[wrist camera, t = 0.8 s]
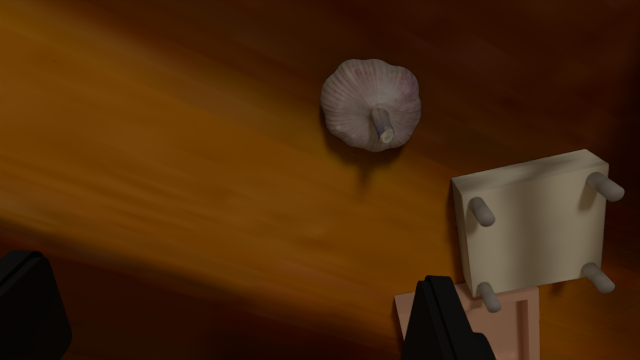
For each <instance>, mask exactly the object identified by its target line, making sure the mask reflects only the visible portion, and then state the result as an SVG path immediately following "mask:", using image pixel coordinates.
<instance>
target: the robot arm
mask: <svg viewBox="0 0 640 360" xmlns="http://www.w3.org/2000/svg"><path fill="white" fill-rule="evenodd" d="M71 340H72V331H71V328H70V325H69V321H68V318H67V315H66V312H65V309H64V306H63V303H62V300H61V296H60V293H59V290H58V287H57V284H56V281H55V278H54V274H53V271H52V268H51V265H50V262H49V260H48V259H47V258H44V256H43V254H42V253H41V252H38V251H27V250H12V251H10V252H8V253H7V254H5V255H4V256H3V257H2V258H1V259H0V360H60V359H61V357H62V356H63V355H64V353H65V352H66V350H67V349H68V347H69V346H70V343H71ZM401 360H497V359H496V357H495V355H494V353H493V350H492V348H491V346H490V343H489V341H488V340H487V338H486V336H485V335H484V334H483V333H479V332H473V331H472V328H471V326H470V323H469V321H468V318H467V316H466V313H465V311H464V308H463V306H462V303H461V301H460V298H459V296H458V293H457V291H456V288H455V286H454V283H453V281H452V279H451V278H450V277H448V276H432V275H427V276H426V277H425V280H424V281H418V283H417V287H416V291H415V296H414V300H413V304H412V309H411V313H410V318H409V322H408V326H407V331H406V335H405V340H404V344H403V348H402V353H401Z"/></svg>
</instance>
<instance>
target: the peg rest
mask: <svg viewBox="0 0 640 360" xmlns="http://www.w3.org/2000/svg"><path fill="white" fill-rule="evenodd" d="M608 169H609V164H608V163H606V162H605V161H603V160H601V159H600V158H598V157H597V156H595V155H594V154H592V153H591V152H589V151H588V150H586V149H584V150H579V151H575V152H570V153H565V154H561V155H556V156H552V157H547V158H542V159H538V160H533V161H529V162H524V163H519V164H515V165H510V166H506V167H501V168H496V169H492V170H487V171H483V172H478V173H473V174H469V175H464V176H460V177H455V178H451V180H452V189H453V197H454V205H455V213H456V221H457V229H458V238H459V246H460V254H461V262H462V270H463V276H464V278H465V280H466V283H467V285H468V287H469V289H470V291H471V293H472V295H473V297H477V296H481V298H482V300H483V302H484V304H485V306H486V308H487V310H488V312H490V313H496V312H498V311H500V310H501V307H502V306H501V304H500V302H499V300H498V298H497V296H496V294H495V293H500V292H505V291H511V290H516V289H522V288H528V287H533V286H539V285H544V284H550V283H555V282H561V281H567V280H572V279H578V278H583V277H588V279H589V280H590V281H591V282H592V283H593V284H594V285H595V287H596V288H597V289H598V290H599V291H600V292H601V293H604V294H605V293H609V292H611V291H613V290H614V288H615V285H614V283H613V282H612V281H611V280H610V279H609V278H608V277H607V276H606V275H605V274H604V273H603V272H602V271H601V259H602V246H603V233H604V221H605V208H606V199H607V200H609V201H611V202H615V201H618V200H620V199H621V198H622V197H623V195H624V189H623V188H621V187H620V186H619V185H617V184H616V183H614V182H613V181H612V180H610V179H609V178H608Z"/></svg>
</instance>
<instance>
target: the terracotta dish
mask: <svg viewBox="0 0 640 360" xmlns="http://www.w3.org/2000/svg"><path fill="white" fill-rule="evenodd" d="M454 286H455V288H456V291H457V293H458V296H459V298H460V301H461V303H462V306H463V308H464V311H465V313H466V316H467V318H468V321H469V323H470V326H471V328H472V331H473V332H479V333H483V334H484V335H485V336H486V338H487V340H488V341H489V343H490V346H491V348H492V350H493V353H494V355H495V357H496V359H497V360H540V348H539V289H538V288H537V286H533V287H528V288H522V289H516V290H511V291H505V292H500V293H495V294H496V296H497V298H498V300H499V302H500V304H501V306H502V307H501V310H500V311H498V312H496V313H490V312H488V310H487V308H486V306H485V304H484V302H483V300H482V298H481V296H477V297H473V295H472V293H471V291H470V289H469V287H468V285H467V283H461V284H455V285H454ZM414 296H415V292H412V293H407V294H401V295H396V296H394V297H395V302H396V307H397V311H398V316H399V320H400V324H401V329H402V333H403V337H404V340H405V335H406V331H407V326H408V322H409V318H410V313H411V309H412V304H413V300H414Z"/></svg>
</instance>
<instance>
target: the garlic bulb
mask: <svg viewBox="0 0 640 360" xmlns="http://www.w3.org/2000/svg"><path fill="white" fill-rule="evenodd" d="M320 103H321V107H322V109H323V112H324V114H325V123H326V126H327V129H328V130H329V131H330V133H331V134H332V135H335V136H337V137H339V138H340V139H341V140H342V141H343V142H344V143H346V144H347V145H348V146H351V147H359V148H363V149H366V150H368V151H371V152H380V151H383V150H385V149H389V148H397V147H400V146H402V145H403V144H405V143H406V142H407V141H408V140H409V139H410V137H411V135H412V133H413V130H414V128H415V126H416V125H417V124H418V122H419V120H420V117H421V111H420V109H421V102H420V99H419V86H418V82H417V80H416V77H415V76H414V75H413V74H412V73H411V72H410V71H409V70H407V69H406V68H404V67H400V66H391V65H389V64H387V63H385V62H384V61H381V60H378V59H369V60H357V59H351V60H347V61H345V62H343V63H342V64H341V65H340V66H339V67H338V69H337V70H336V71H335V73H334V74H332V75H331V76H330V77H329V78H328V79H327V80H326V81H325V83H324V85H323V88H322V92H321V97H320Z"/></svg>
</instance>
